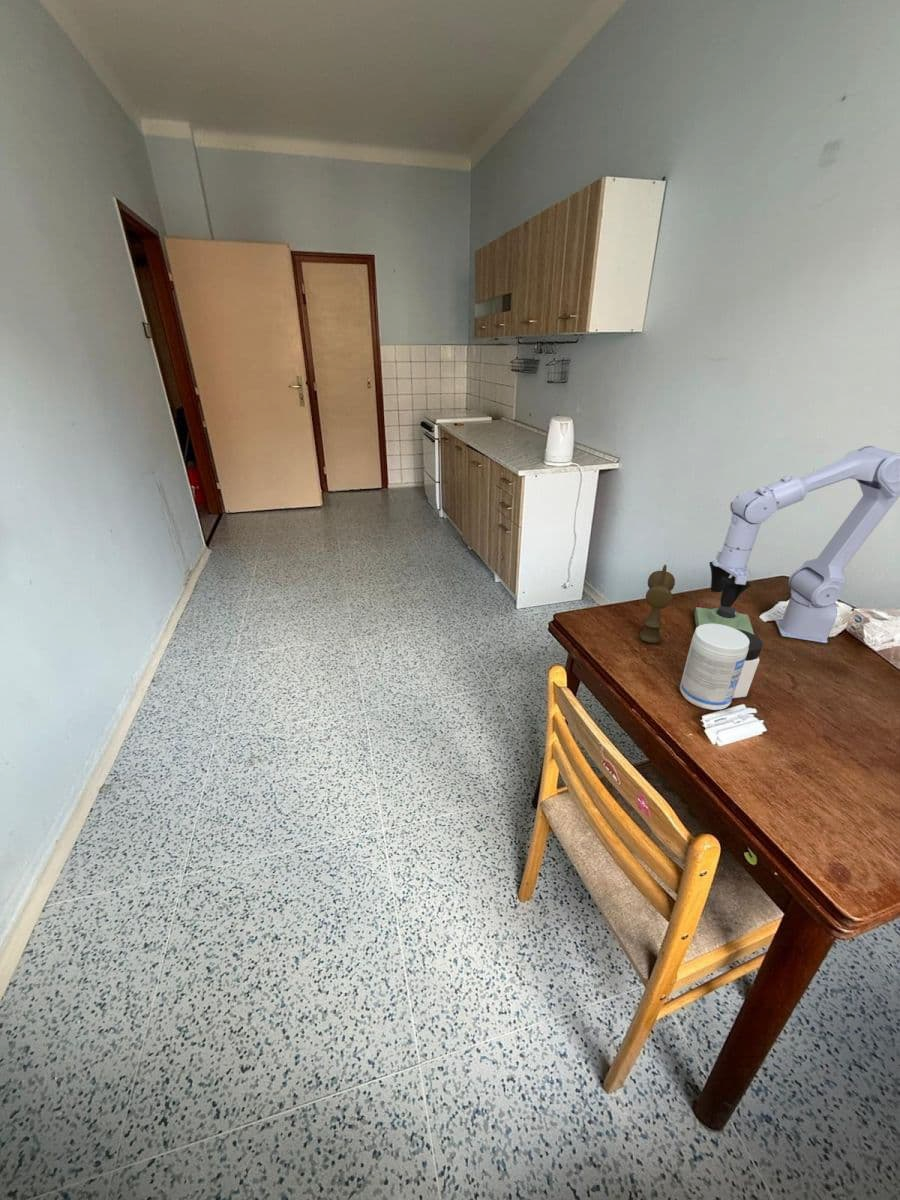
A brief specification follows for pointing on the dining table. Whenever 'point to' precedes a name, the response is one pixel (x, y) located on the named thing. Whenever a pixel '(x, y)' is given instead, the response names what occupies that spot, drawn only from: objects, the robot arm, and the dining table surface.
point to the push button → (726, 612)
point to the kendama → (657, 603)
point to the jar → (748, 665)
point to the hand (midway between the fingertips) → (720, 598)
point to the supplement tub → (714, 666)
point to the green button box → (722, 619)
